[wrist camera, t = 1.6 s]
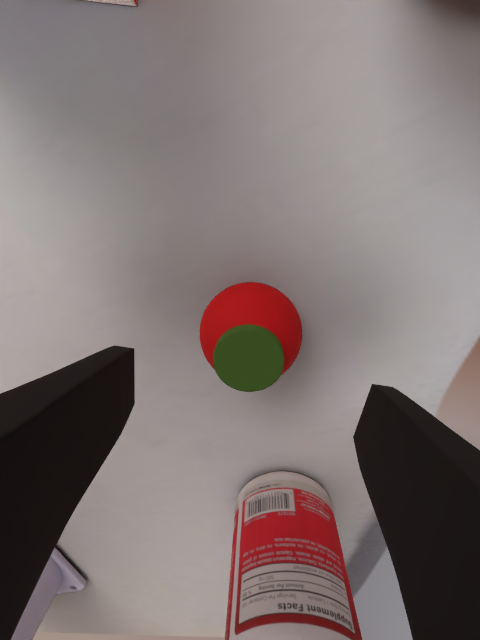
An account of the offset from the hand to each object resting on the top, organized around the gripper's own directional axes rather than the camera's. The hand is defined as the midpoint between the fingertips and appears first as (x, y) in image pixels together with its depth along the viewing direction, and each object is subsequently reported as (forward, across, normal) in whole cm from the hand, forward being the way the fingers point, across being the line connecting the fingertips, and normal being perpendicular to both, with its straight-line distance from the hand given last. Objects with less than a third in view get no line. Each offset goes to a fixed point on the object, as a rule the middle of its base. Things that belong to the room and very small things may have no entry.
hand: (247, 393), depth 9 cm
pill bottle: (+7, -4, +13) cm, 15 cm away
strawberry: (+7, 0, 0) cm, 7 cm away
